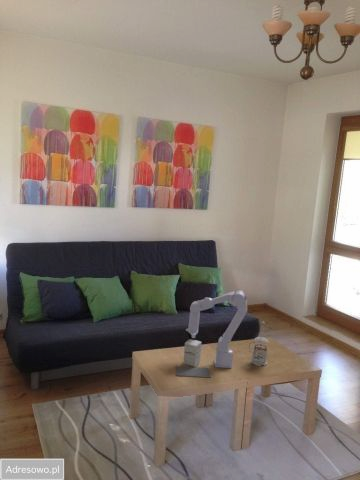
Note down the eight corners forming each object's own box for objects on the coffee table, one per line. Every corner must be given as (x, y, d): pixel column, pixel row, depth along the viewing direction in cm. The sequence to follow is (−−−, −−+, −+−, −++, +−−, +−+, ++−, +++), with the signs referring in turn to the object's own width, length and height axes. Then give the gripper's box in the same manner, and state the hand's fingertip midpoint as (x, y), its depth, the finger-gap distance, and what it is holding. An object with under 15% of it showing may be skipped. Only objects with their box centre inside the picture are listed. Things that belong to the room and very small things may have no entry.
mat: (208, 368, 233) (208, 367, 233) (210, 377, 222) (210, 377, 222) (176, 366, 232) (176, 365, 232) (176, 376, 222) (176, 375, 222)
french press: (266, 367, 239) (270, 325, 236) (246, 363, 243) (250, 322, 239) (268, 360, 249) (272, 320, 245) (249, 356, 252) (253, 316, 248)
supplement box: (183, 363, 236) (184, 342, 233) (188, 358, 242) (190, 338, 240) (194, 367, 232) (196, 346, 230) (200, 362, 239) (201, 341, 236)
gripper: (186, 317, 246) (184, 339, 248) (187, 326, 231) (184, 349, 234) (198, 318, 246) (196, 340, 248) (200, 327, 232) (197, 350, 234)
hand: (191, 345), depth 241 cm, fingers closed, pressing on supplement box
